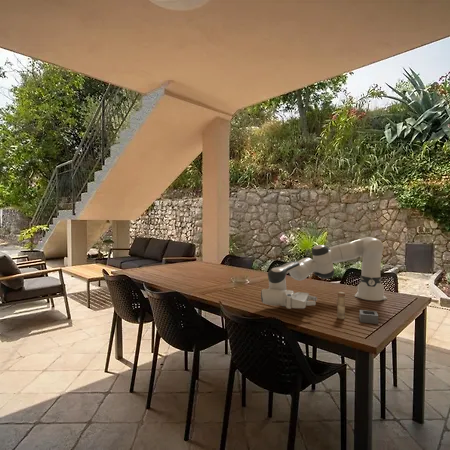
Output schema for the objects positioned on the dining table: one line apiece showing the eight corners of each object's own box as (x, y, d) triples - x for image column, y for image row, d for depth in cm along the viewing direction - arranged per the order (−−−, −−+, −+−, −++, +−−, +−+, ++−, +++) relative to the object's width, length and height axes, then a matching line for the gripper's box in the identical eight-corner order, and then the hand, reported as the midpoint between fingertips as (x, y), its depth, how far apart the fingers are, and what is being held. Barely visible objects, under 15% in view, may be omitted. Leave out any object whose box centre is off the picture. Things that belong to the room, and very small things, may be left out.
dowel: (337, 316, 168) (337, 291, 168) (344, 317, 167) (345, 292, 167) (337, 318, 165) (337, 293, 165) (344, 319, 164) (345, 293, 163)
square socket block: (359, 317, 167) (359, 309, 167) (376, 318, 164) (376, 311, 164) (360, 322, 159) (360, 314, 159) (378, 324, 157) (378, 315, 157)
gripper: (292, 299, 185) (317, 301, 180) (286, 309, 165) (314, 312, 161) (292, 288, 185) (317, 290, 180) (286, 297, 165) (314, 299, 161)
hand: (316, 301), depth 170 cm, fingers open, 8 cm apart
